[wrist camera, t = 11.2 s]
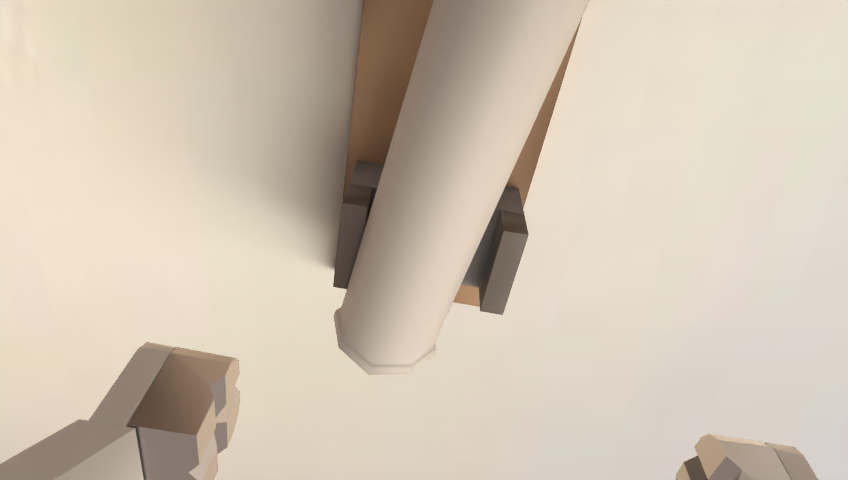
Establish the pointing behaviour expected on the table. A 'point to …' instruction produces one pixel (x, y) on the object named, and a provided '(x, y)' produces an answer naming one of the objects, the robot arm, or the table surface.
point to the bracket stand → (372, 134)
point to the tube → (448, 170)
